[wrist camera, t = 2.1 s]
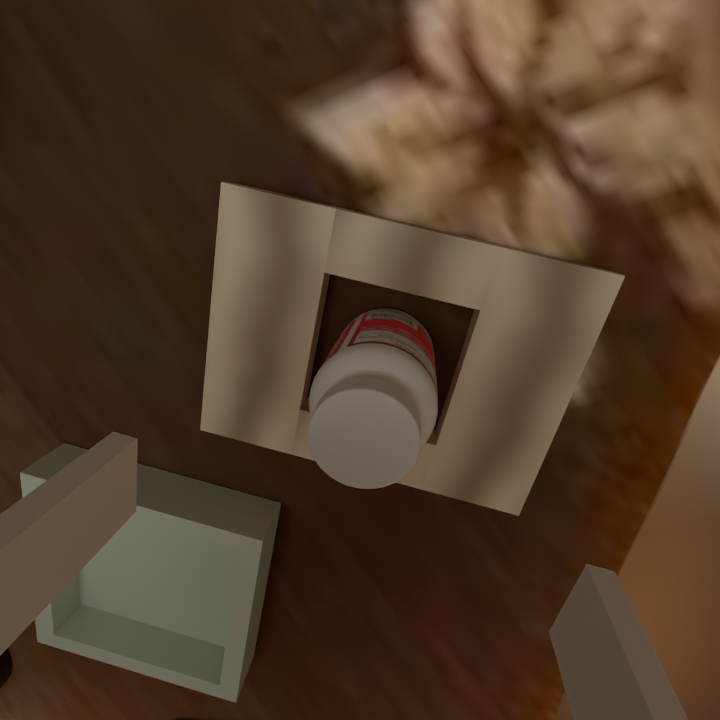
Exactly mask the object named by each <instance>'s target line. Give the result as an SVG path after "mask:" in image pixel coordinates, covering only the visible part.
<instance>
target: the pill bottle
mask: <svg viewBox="0 0 720 720" xmlns="http://www.w3.org/2000/svg"><path fill="white" fill-rule="evenodd" d="M309 410H310V416H311V420H310V422H309V427H308V443H309V447H310V451H311V453H312V455H313V457H314V459H315V461H316V462H317V464H318V465H319V466H320V468H321V469H322V470H323V471H324V472H325V473H326V474H327V475H329V476H330V477H331V478H333V479H335V480H336V481H338V482H340V483H342V484H345V485H347V486H351V487H354V488H361V489H376V488H381V487H386V486H388V485H391V484H393V483H395V482H397V481H399V480H400V479H402V478H403V477H404V476H405V475H406V474H407V473H408V472H409V471H410V470H411V469H412V467H413V466H414V465H415V463H416V461H417V459H418V456H419V453H420V448H421V447H422V446H423V445H424V444H425V442H426V441H427V440H428V438H429V437H430V435H431V433H432V431H433V429H434V426H435V423H436V419H437V413H438V396H437V381H436V367H435V355H434V348H433V344H432V341H431V338H430V336H429V334H428V332H427V331H426V329H425V328H424V326H423V325H422V324H421V323H420V322H419V321H418V320H417V319H415V318H414V317H412V316H411V315H409V314H407V313H405V312H403V311H400V310H396V309H388V308H380V309H374V310H370V311H368V312H365V313H363V314H361V315H359V316H357V317H356V318H355V319H354V320H352V321H351V322H350V323H349V324H348V325H347V327H346V328H345V329H344V331H343V332H342V334H341V335H340V337H339V339H338V340H337V342H336V343H335V345H334V347H333V348H332V350H331V351H330V353H329V355H328V356H327V358H326V359H325V361H324V363H323V364H322V366H321V367H320V369H319V371H318V372H317V374H316V376H315V378H314V381H313V383H312V386H311V390H310V395H309Z"/></svg>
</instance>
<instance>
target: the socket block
mask: <svg viewBox="0 0 720 720" xmlns="http://www.w3.org/2000/svg"><path fill="white" fill-rule="evenodd" d="M330 274H332V275H336V276H341V277H345V278H349V279H353V280H357V281H361V282H365V283H369V284H374V285H378V286H382V287H386V288H390V289H394V290H398V291H402V292H407V293H411V294H415V295H419V296H423V297H427V298H431V299H435V300H440V301H444V302H448V303H452V304H456V305H460V306H464V307H468V308H473V309H474V312H473V315H472V318H471V321H470V324H469V327H468V330H467V333H466V337H465V340H464V343H463V346H462V349H461V352H460V355H459V358H458V361H457V365H456V368H455V371H454V374H453V377H452V380H451V383H450V386H449V389H448V393H447V396H446V399H445V402H444V405H443V408H442V411H441V414H440V417H439V421H438V424H437V427H436V430H434V429H433V431H432V433H431V435H430V437H429V438H428V440H427V441H426V442H425V444H424V445H423V446H422V447H421V448H420V453H419V456H418V459H417V461H416V463H415V465H414V466H413V467H412V469H411V470H410V471H409V472H408V473H407V474H406V475H405V476H404V477H403V478H402V479H400V480H399V481H397V482H396V483H399V484H403V485H407V486H410V487H414V488H418V489H422V490H425V491H429V492H433V493H436V494H440V495H444V496H448V497H451V498H455V499H459V500H462V501H466V502H470V503H474V504H477V505H481V506H485V507H488V508H492V509H496V510H500V511H503V512H507V513H511V514H514V515H518V516H519V514H520V512H521V510H522V507H523V505H524V503H525V501H526V498H527V496H528V494H529V492H530V489H531V487H532V485H533V483H534V480H535V478H536V476H537V474H538V471H539V469H540V467H541V465H542V462H543V460H544V458H545V456H546V453H547V451H548V449H549V447H550V444H551V442H552V440H553V438H554V435H555V433H556V431H557V429H558V426H559V424H560V422H561V420H562V417H563V415H564V413H565V411H566V408H567V406H568V404H569V402H570V399H571V397H572V395H573V393H574V390H575V388H576V386H577V384H578V381H579V379H580V377H581V375H582V372H583V370H584V368H585V366H586V363H587V361H588V359H589V357H590V354H591V352H592V350H593V348H594V345H595V343H596V341H597V339H598V336H599V334H600V332H601V330H602V327H603V325H604V323H605V321H606V318H607V316H608V314H609V312H610V309H611V307H612V305H613V303H614V300H615V298H616V296H617V294H618V291H619V289H620V287H621V285H622V282H623V280H624V278H625V276H624V275H621V274H618V273H616V272H613V271H610V270H606V269H602V268H598V267H593V266H589V265H585V264H580V263H576V262H572V261H568V260H563V259H559V258H555V257H550V256H546V255H542V254H538V253H533V252H529V251H525V250H520V249H516V248H512V247H507V246H503V245H499V244H495V243H490V242H486V241H482V240H477V239H473V238H469V237H464V236H460V235H456V234H452V233H447V232H443V231H439V230H434V229H430V228H426V227H421V226H417V225H413V224H409V223H404V222H400V221H396V220H391V219H387V218H383V217H379V216H374V215H370V214H366V213H361V212H357V211H353V210H348V209H344V208H340V207H336V206H331V205H327V204H323V203H318V202H314V201H310V200H305V199H301V198H297V197H293V196H288V195H284V194H280V193H275V192H271V191H267V190H262V189H258V188H254V187H250V186H245V185H241V184H237V183H227V182H221V190H220V202H219V214H218V226H217V238H216V250H215V261H214V273H213V285H212V297H211V309H210V321H209V333H208V345H207V357H206V368H205V380H204V392H203V404H202V416H201V428H200V430H202V431H206V432H210V433H214V434H217V435H221V436H225V437H228V438H232V439H236V440H240V441H243V442H247V443H251V444H254V445H258V446H262V447H266V448H269V449H273V450H277V451H280V452H284V453H288V454H292V455H295V456H299V457H303V458H306V459H310V460H314V461H315V459H314V457H313V455H312V453H311V451H310V447H309V443H308V427H309V422H310V420H311V416H310V410H309V397H308V391H309V386H310V381H311V375H312V370H313V365H314V359H315V354H316V348H317V343H318V338H319V332H320V327H321V322H322V316H323V311H324V305H325V300H326V295H327V289H328V284H329V279H330Z"/></svg>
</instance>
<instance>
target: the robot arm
mask: <svg viewBox="0 0 720 720" xmlns="http://www.w3.org/2000/svg"><path fill="white" fill-rule="evenodd" d="M136 495H137V438H133V437H130V436H126V435H123V434H119V433H116V432H112V433H111V434H109V435H108V436H107V437H105V438H104V439H103V440H101V441H100V442H99V443H97V444H96V445H94V446H93V447H92V448H90V449H89V450H88V451H86V452H85V453H84V454H82V455H81V456H79V457H78V458H77V459H75V460H74V461H73V462H71V463H70V464H69V465H67V466H66V467H64V468H63V469H62V470H60V471H59V472H58V473H56V474H55V475H53V476H52V477H51V478H49V479H48V480H47V481H45V482H44V483H43V484H41V485H40V486H38V487H37V488H36V489H34V490H33V491H32V492H30V493H29V494H28V495H26V496H25V497H23V498H22V499H21V500H19V501H18V502H17V503H15V504H14V505H13V506H11V507H10V508H8V509H7V510H6V511H4V512H3V513H2V514H0V688H1V687H2V686H3V685H4V683H5V682H6V681H7V679H8V677H9V675H10V660H9V656H8V654H7V651H6V649H7V648H8V647H9V646H10V645H11V644H12V643H13V642H14V641H15V640H16V639H17V637H18V636H19V635H20V634H21V633H22V632H23V631H24V630H25V629H26V628H27V627H28V626H29V625H30V624H31V623H32V622H33V620H34V619H35V618H36V617H37V616H38V615H39V614H40V613H41V612H42V611H43V610H44V609H45V608H46V607H47V606H48V605H49V604H50V602H51V601H52V600H53V599H54V598H55V597H56V596H57V595H58V594H59V593H60V592H61V591H62V590H63V589H64V588H65V587H66V585H67V584H68V583H69V582H70V581H71V580H72V579H73V578H74V577H75V576H76V575H77V574H78V573H79V572H80V571H81V570H82V569H83V567H84V566H85V565H86V564H87V563H88V562H89V561H90V560H91V559H92V558H93V557H94V556H95V555H96V554H97V553H98V552H99V550H100V549H101V548H102V547H103V546H104V545H105V544H106V543H107V542H108V541H109V540H110V539H111V538H112V537H113V536H114V535H115V533H116V532H117V531H118V530H119V529H120V528H121V527H122V526H123V525H124V524H125V523H126V522H127V521H128V520H129V519H130V518H131V517H132V515H133V514H134V513H135V512H136ZM549 633H550V637H551V640H552V644H553V648H554V651H555V655H556V659H557V662H558V666H559V669H560V673H561V677H562V680H563V684H564V688H565V691H566V695H567V698H568V702H569V706H570V709H571V713H572V717H573V720H688V718H687V716H686V714H685V712H684V710H683V708H682V706H681V704H680V702H679V700H678V698H677V696H676V694H675V692H674V690H673V688H672V686H671V684H670V682H669V680H668V678H667V676H666V674H665V672H664V670H663V668H662V666H661V664H660V662H659V660H658V658H657V656H656V654H655V652H654V650H653V648H652V646H651V644H650V642H649V640H648V638H647V636H646V634H645V631H644V629H643V627H642V625H641V624H640V621H639V620H638V618H637V615H636V613H635V611H634V609H633V607H632V605H631V603H630V601H629V599H628V597H627V595H626V593H625V591H624V589H623V587H622V585H621V583H620V581H619V579H618V577H617V575H616V573H615V572H614V571H611V570H607V569H603V568H600V567H596V566H593V565H589V564H586V566H585V568H584V569H583V571H582V573H581V575H580V577H579V578H578V580H577V582H576V584H575V586H574V587H573V589H572V591H571V593H570V595H569V596H568V598H567V600H566V602H565V604H564V605H563V607H562V609H561V611H560V613H559V615H558V616H557V618H556V620H555V622H554V624H553V625H552V627H551V629H550V631H549Z"/></svg>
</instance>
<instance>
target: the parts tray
mask: <svg viewBox="0 0 720 720" xmlns="http://www.w3.org/2000/svg"><path fill="white" fill-rule="evenodd" d="M86 451H88V449H84V448H81V447H77V446H73V445H70V444H66V443H64V444H62V445H61V446H59V447H58V448H56V449H55V450H53V451H52V452H50V453H49V454H47V455H46V456H44V457H43V458H41V459H40V460H38V461H37V462H35V463H34V464H32V465H31V466H29V467H28V468H26V469H25V470H23V471H22V472H20V477H21V487H22V497H25V496H26V495H28V494H29V493H30V492H32V491H33V490H34V489H36V488H37V487H38V486H40V485H41V484H43V483H44V482H45V481H47V480H48V479H49V478H51V477H52V476H53V475H55V474H56V473H58V472H59V471H60V470H62V469H63V468H64V467H66V466H67V465H69V464H70V463H71V462H73V461H74V460H75V459H77V458H78V457H79V456H81V455H82V454H84V453H85V452H86ZM280 507H281V503H279V502H276V501H272V500H269V499H265V498H261V497H258V496H254V495H251V494H247V493H243V492H240V491H236V490H232V489H229V488H225V487H222V486H218V485H214V484H211V483H207V482H204V481H200V480H196V479H193V478H189V477H185V476H182V475H178V474H175V473H171V472H167V471H164V470H160V469H157V468H153V467H149V466H146V465H142V464H138V463H137V495H136V512H135V513H134V514H133V515H132V517H131V518H130V519H129V520H128V521H127V522H126V523H125V524H124V525H123V526H122V527H121V528H120V529H119V530H118V531H117V532H116V533H115V535H114V536H113V537H112V538H111V539H110V540H109V541H108V542H107V543H106V544H105V545H104V546H103V547H102V548H101V549H100V550H99V552H98V553H97V554H96V555H95V556H94V557H93V558H92V559H91V560H90V561H89V562H88V563H87V564H86V565H85V566H84V567H83V569H82V570H81V571H80V572H79V573H78V574H77V575H76V576H75V577H74V578H73V579H72V580H71V581H70V582H69V583H68V584H67V585H66V587H65V588H64V589H63V590H62V591H61V592H60V593H59V594H58V595H57V596H56V597H55V598H54V599H53V600H52V601H51V602H50V604H49V605H48V606H47V607H46V608H45V609H44V610H43V611H42V612H41V613H40V614H39V615H38V616H37V617H36V618H35V624H36V633H37V642H39V643H43V644H46V645H49V646H52V647H56V648H59V649H62V650H65V651H69V652H72V653H75V654H78V655H82V656H85V657H88V658H91V659H95V660H98V661H101V662H104V663H108V664H111V665H114V666H118V667H121V668H124V669H127V670H131V671H134V672H137V673H140V674H144V675H147V676H150V677H153V678H157V679H160V680H163V681H166V682H170V683H173V684H176V685H179V686H183V687H186V688H189V689H192V690H196V691H199V692H202V693H205V694H209V695H212V696H215V697H219V698H222V699H225V700H228V701H232V702H235V703H236V702H237V699H238V696H239V694H240V691H241V688H242V686H243V683H244V681H245V678H246V675H247V673H248V670H249V667H250V665H251V662H252V659H253V657H254V652H255V647H256V641H257V635H258V630H259V624H260V619H261V613H262V608H263V602H264V596H265V591H266V585H267V580H268V574H269V568H270V563H271V557H272V552H273V546H274V540H275V535H276V529H277V524H278V518H279V513H280Z"/></svg>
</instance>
